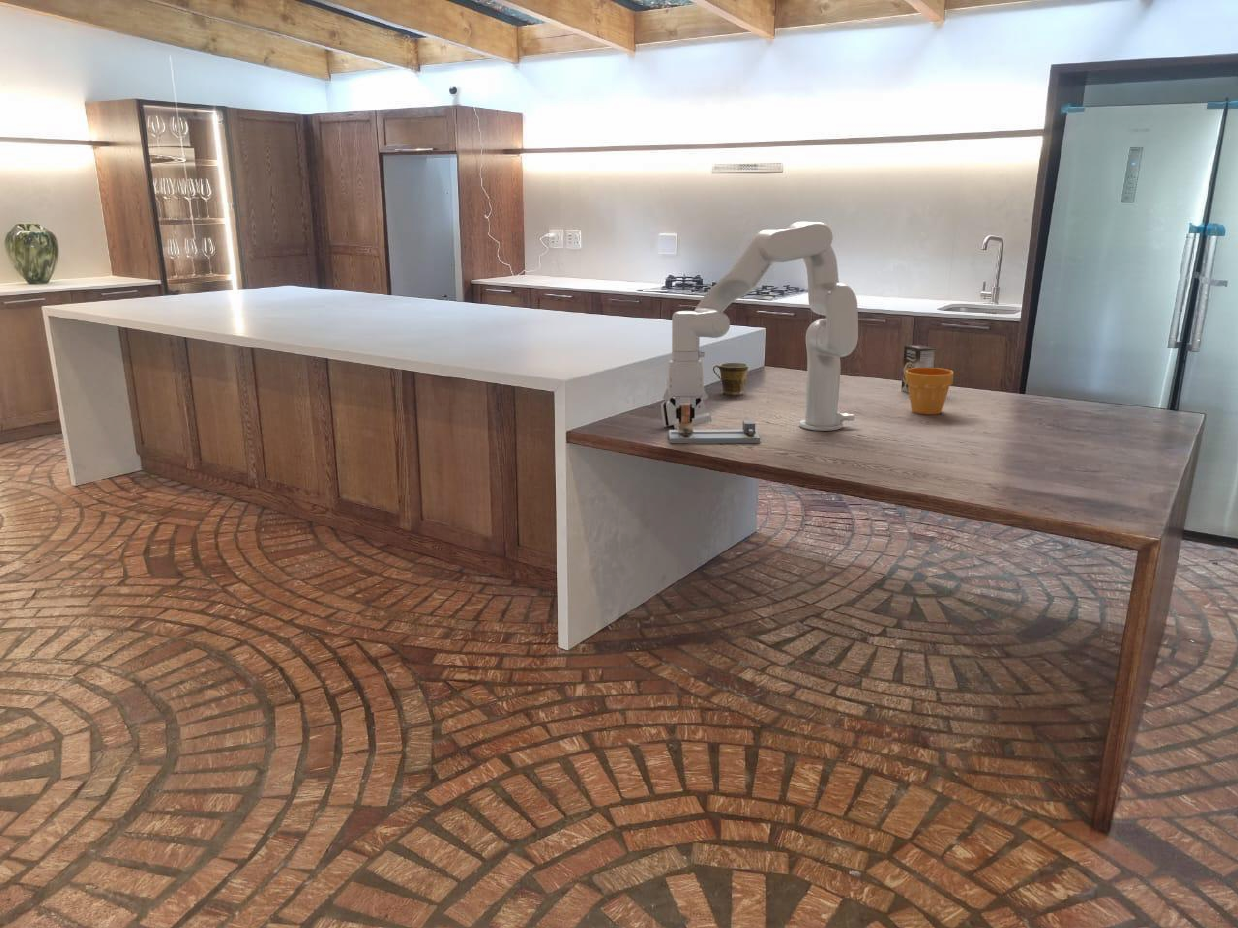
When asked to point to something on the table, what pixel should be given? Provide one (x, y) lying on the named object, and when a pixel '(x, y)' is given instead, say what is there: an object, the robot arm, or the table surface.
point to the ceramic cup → (732, 377)
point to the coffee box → (916, 360)
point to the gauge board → (718, 435)
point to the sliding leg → (685, 420)
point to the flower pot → (928, 388)
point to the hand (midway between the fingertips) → (685, 420)
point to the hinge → (670, 413)
